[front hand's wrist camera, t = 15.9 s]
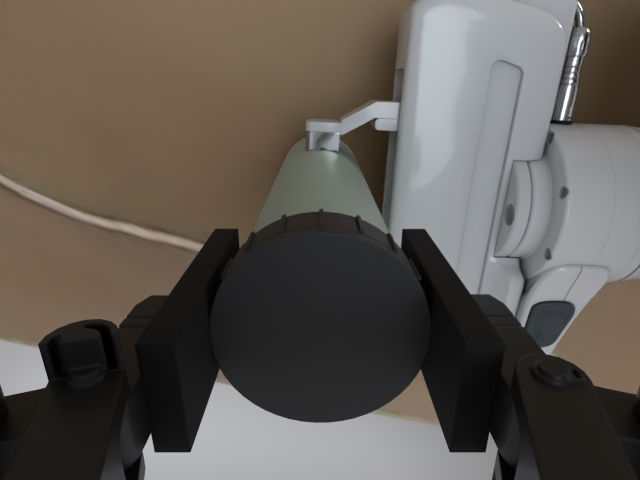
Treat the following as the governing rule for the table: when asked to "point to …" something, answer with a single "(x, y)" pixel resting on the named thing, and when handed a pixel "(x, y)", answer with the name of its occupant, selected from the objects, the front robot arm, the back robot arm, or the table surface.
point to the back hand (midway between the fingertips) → (304, 194)
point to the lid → (320, 318)
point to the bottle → (320, 187)
